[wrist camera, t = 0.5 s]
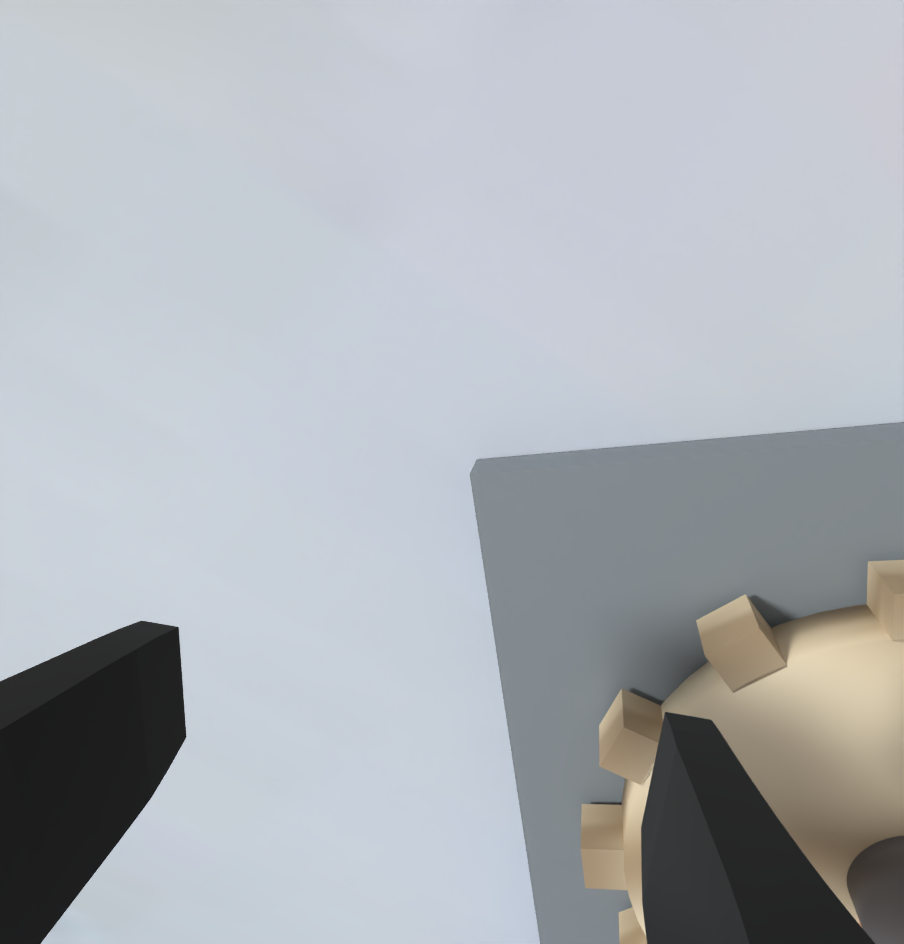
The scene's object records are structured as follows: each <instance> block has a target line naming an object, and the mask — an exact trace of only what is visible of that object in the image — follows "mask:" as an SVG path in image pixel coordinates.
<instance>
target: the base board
mask: <svg viewBox="0 0 904 944" xmlns="http://www.w3.org/2000/svg"><path fill="white" fill-rule="evenodd" d="M470 479H471V485H472V492H473V499H474V505H475V512H476V519H477V525H478V532H479V538H480V545H481V552H482V558H483V565H484V572H485V578H486V585H487V592H488V598H489V605H490V612H491V618H492V625H493V632H494V638H495V645H496V652H497V658H498V665H499V671H500V678H501V685H502V691H503V698H504V705H505V711H506V718H507V725H508V731H509V738H510V745H511V751H512V758H513V765H514V771H515V778H516V785H517V791H518V798H519V804H520V811H521V818H522V824H523V831H524V838H525V844H526V851H527V858H528V864H529V871H530V878H531V884H532V891H533V898H534V904H535V911H536V918H537V924H538V931H539V937H540V944H620V941H619V912H621V911H624V910H626V909H629V908H631V907H633V906H632V903H631V901H630V898H629V894H628V890H612V889H591V888H585V881H584V873H583V865H582V856H581V810H582V804H603V805H622V795H623V788H624V782H625V778H624V777H622V776H619V775H617V774H615V773H613V772H611V771H608V770H606V769H604V768H602V767H600V766H599V725H600V723H601V722H602V720H603V718H604V717H605V715H606V713H607V712H608V710H609V708H610V707H611V705H612V703H613V702H614V700H615V698H616V697H617V695H618V693H619V692H620V690H621V688H622V689H624V690H627V691H629V692H631V693H633V694H636V695H638V696H640V697H642V698H645V699H647V700H649V701H651V702H654V703H656V704H658V705H660V706H661V705H662V704H663V702H664V701H665V700H666V699H667V698H668V697H669V696H670V695H671V694H672V693H673V692H674V691H675V690H676V689H677V688H678V687H679V686H680V685H681V684H682V683H683V682H684V681H685V680H686V679H687V678H688V677H689V676H690V675H692V674H693V673H694V672H696V671H697V670H698V669H700V668H701V667H702V666H703V665H705V664H706V663H707V662H709V661H708V659H707V658H706V657H705V654H704V650H703V646H702V642H701V638H700V634H699V630H698V626H697V622H696V620H698V619H700V618H702V617H703V616H705V615H707V614H709V613H711V612H713V611H715V610H717V609H718V608H720V607H722V606H724V605H726V604H728V603H730V602H732V601H734V600H735V599H737V598H739V597H741V596H743V595H745V594H746V595H747V596H748V598H749V599H750V600H751V602H752V603H753V605H754V606H755V607H756V609H757V610H758V611H759V613H760V614H761V615H762V617H763V618H764V619H765V621H766V622H767V623H768V625H769V626H770V628H772V627H775V626H777V625H779V624H783V623H786V622H789V621H792V620H795V619H799V618H802V617H805V616H808V615H812V614H815V613H819V612H824V611H829V610H834V609H839V608H844V607H849V606H855V605H863V604H867V575H868V561H887V560H904V422H901V423H890V424H878V425H867V426H855V427H844V428H832V429H821V430H810V431H798V432H787V433H775V434H764V435H752V436H741V437H729V438H718V439H706V440H695V441H683V442H672V443H661V444H649V445H638V446H626V447H615V448H603V449H592V450H580V451H569V452H557V453H546V454H534V455H523V456H512V457H500V458H489V459H477V460H476V462H475V465H474V467H473V469H472V471H471V473H470Z"/></svg>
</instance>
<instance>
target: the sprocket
mask: <svg viewBox="0 0 904 944" xmlns="http://www.w3.org/2000/svg"><path fill="white" fill-rule="evenodd" d="M696 622H697V626H698V630H699V634H700V638H701V642H702V646H703V650H704V654H705V657H706V658H707V659H708V661H709V662H707V663H706V664H705V665H703V666H702V667H701V668H700V669H698V670H697V671H696V672H694V673H693V674H692V675H690V676H689V677H688V678H687V679H686V680H685V681H684V682H683V683H682V684H681V685H680V686H679V687H678V688H677V689H676V690H675V691H674V692H673V693H672V694H671V695H670V696H669V697H668V698H667V699H666V700H665V701H664V702H663V704H662V705H661V706H660V705H658V704H656V703H654V702H651V701H649V700H647V699H645V698H642V697H640V696H638V695H636V694H633V693H631V692H629V691H627V690H624V689H622V688H621V690H620V692H619V693H618V695H617V697H616V698H615V700H614V702H613V703H612V705H611V707H610V708H609V710H608V712H607V713H606V715H605V717H604V718H603V720H602V722H601V723H600V725H599V766H600V767H602V768H604V769H606V770H608V771H611V772H613V773H615V774H617V775H619V776H622V777H624V778H625V782H624V788H623V795H622V805H603V804H582V810H581V856H582V865H583V873H584V881H585V888H591V889H612V890H628V894H629V898H630V901H631V903H632V906H633V907H631V908H629V909H626V910H624V911H621V912H619V941H620V944H647V939H646V931H645V923H644V914H643V905H642V870H641V825H642V820H643V815H644V811H645V806H646V801H647V796H648V791H649V787H650V782H651V777H652V772H653V767H654V763H655V758H656V753H657V748H658V743H659V738H660V734H661V729H662V724H663V719H664V714H665V712H670V713H676V714H681V715H687V716H693V717H699V718H704V719H710V720H712V721H713V723H714V724H715V725H716V727H717V728H718V729H719V731H720V732H721V734H722V735H723V737H724V738H725V740H726V741H727V743H728V745H729V746H730V748H731V749H732V751H733V752H734V754H735V755H736V757H737V758H738V760H739V761H740V763H741V764H742V766H743V767H744V769H745V771H746V772H747V774H748V775H749V777H750V778H751V779H752V781H753V782H754V784H755V785H756V787H757V788H758V790H759V791H760V793H761V794H762V796H763V797H764V799H765V800H766V802H767V803H768V804H769V806H770V807H771V809H772V810H773V812H774V813H775V814H776V816H777V817H778V819H779V820H780V822H781V823H782V824H783V826H784V827H785V828H786V830H787V831H788V832H789V834H790V835H791V837H792V838H793V839H794V841H795V842H796V843H797V845H798V846H799V848H800V849H801V850H802V852H803V853H804V854H805V856H806V857H807V859H808V860H809V861H810V863H811V864H812V865H813V867H814V868H815V869H816V870H817V872H818V873H819V874H820V876H821V877H822V878H823V880H824V881H825V882H826V884H827V885H828V886H829V887H830V889H831V890H832V891H833V892H834V894H835V895H836V896H837V897H838V899H839V900H840V901H841V902H842V904H843V905H844V906H845V907H846V909H847V910H848V911H849V912H850V914H851V915H852V916H853V917H854V919H855V920H856V921H857V922H858V924H859V925H860V926H861V927H862V928H863V930H864V931H865V932H866V933H867V934H868V936H869V937H870V938H871V939H872V940H873V941H874V942H875V944H904V560H887V561H868V575H867V604H863V605H855V606H849V607H844V608H839V609H834V610H829V611H824V612H819V613H815V614H812V615H808V616H805V617H802V618H799V619H795V620H792V621H789V622H786V623H783V624H779V625H777V626H775V627H772V628H770V626H769V625H768V623H767V622H766V621H765V619H764V618H763V617H762V615H761V614H760V613H759V611H758V610H757V609H756V607H755V606H754V605H753V603H752V602H751V600H750V599H749V598H748V596H747V595H746V594H745V595H743V596H741V597H739V598H737V599H735V600H734V601H732V602H730V603H728V604H726V605H724V606H722V607H720V608H718V609H717V610H715V611H713V612H711V613H709V614H707V615H705V616H703V617H702V618H700V619H698V620H696Z"/></svg>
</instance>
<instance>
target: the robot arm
mask: <svg viewBox="0 0 904 944" xmlns="http://www.w3.org/2000/svg"><path fill="white" fill-rule="evenodd" d="M185 738H186V727H185V713H184V699H183V685H182V671H181V657H180V643H179V629H178V627H175V626H169V625H163V624H157V623H152V622H146V621H140V622H137V623H134V624H132V625H129V626H126V627H123V628H121V629H118V630H116V631H114V632H111V633H109V634H106V635H104V636H102V637H99V638H97V639H95V640H93V641H90V642H88V643H86V644H83V645H81V646H79V647H77V648H74V649H72V650H70V651H68V652H66V653H63V654H61V655H59V656H57V657H54V658H52V659H50V660H48V661H45V662H43V663H41V664H39V665H36V666H34V667H32V668H30V669H27V670H25V671H23V672H21V673H18V674H16V675H14V676H12V677H9V678H7V679H5V680H3V681H0V944H41V942H42V941H43V940H44V938H45V937H46V936H47V934H48V933H49V932H50V930H51V929H52V928H53V926H54V925H55V924H56V923H57V921H58V920H59V919H60V917H61V916H62V915H63V913H64V912H65V911H66V910H67V908H68V907H69V906H70V904H71V903H72V902H73V900H74V899H75V898H76V896H77V895H78V894H79V893H80V891H81V890H82V889H83V887H84V886H85V885H86V883H87V882H88V881H89V880H90V878H91V877H92V876H93V874H94V873H95V872H96V870H97V869H98V868H99V867H100V865H101V864H102V863H103V861H104V860H105V859H106V857H107V856H108V855H109V853H110V852H111V851H112V850H113V848H114V847H115V846H116V844H117V843H118V842H119V840H120V839H121V838H122V836H123V835H124V834H125V832H126V831H127V830H128V828H129V827H130V826H131V824H132V823H133V822H134V820H135V819H136V818H137V816H138V815H139V814H140V812H141V811H142V810H143V808H144V807H145V806H146V804H147V803H148V801H149V800H150V799H151V797H152V795H153V794H154V792H155V791H156V789H157V787H158V786H159V784H160V782H161V781H162V779H163V777H164V776H165V774H166V772H167V771H168V769H169V767H170V765H171V763H172V762H173V760H174V758H175V756H176V755H177V753H178V751H179V749H180V747H181V746H182V744H183V742H184V740H185ZM641 870H642V905H643V914H644V923H645V931H646V939H647V944H875V942H874V941H873V940H872V939H871V938H870V937H869V936H868V934H867V933H866V932H865V931H864V930H863V928H862V927H861V926H860V925H859V924H858V922H857V921H856V920H855V919H854V917H853V916H852V915H851V914H850V912H849V911H848V910H847V909H846V907H845V906H844V905H843V904H842V902H841V901H840V900H839V899H838V897H837V896H836V895H835V894H834V892H833V891H832V890H831V889H830V887H829V886H828V885H827V884H826V882H825V881H824V880H823V878H822V877H821V876H820V874H819V873H818V872H817V870H816V869H815V868H814V867H813V865H812V864H811V863H810V861H809V860H808V859H807V857H806V856H805V854H804V853H803V852H802V850H801V849H800V848H799V846H798V845H797V843H796V842H795V841H794V839H793V838H792V837H791V835H790V834H789V832H788V831H787V830H786V828H785V827H784V826H783V824H782V823H781V822H780V820H779V819H778V817H777V816H776V814H775V813H774V812H773V810H772V809H771V807H770V806H769V804H768V803H767V802H766V800H765V799H764V797H763V796H762V794H761V793H760V791H759V790H758V788H757V787H756V785H755V784H754V782H753V781H752V779H751V778H750V777H749V775H748V774H747V772H746V771H745V769H744V767H743V766H742V764H741V763H740V761H739V760H738V758H737V757H736V755H735V754H734V752H733V751H732V749H731V748H730V746H729V745H728V743H727V741H726V740H725V738H724V737H723V735H722V734H721V732H720V731H719V729H718V728H717V727H716V725H715V724H714V723H713V721H712V720H710V719H704V718H699V717H693V716H687V715H681V714H676V713H670V712H665V714H664V719H663V724H662V729H661V734H660V738H659V743H658V748H657V753H656V758H655V763H654V767H653V772H652V777H651V782H650V787H649V791H648V796H647V801H646V806H645V811H644V815H643V820H642V825H641Z"/></svg>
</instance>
